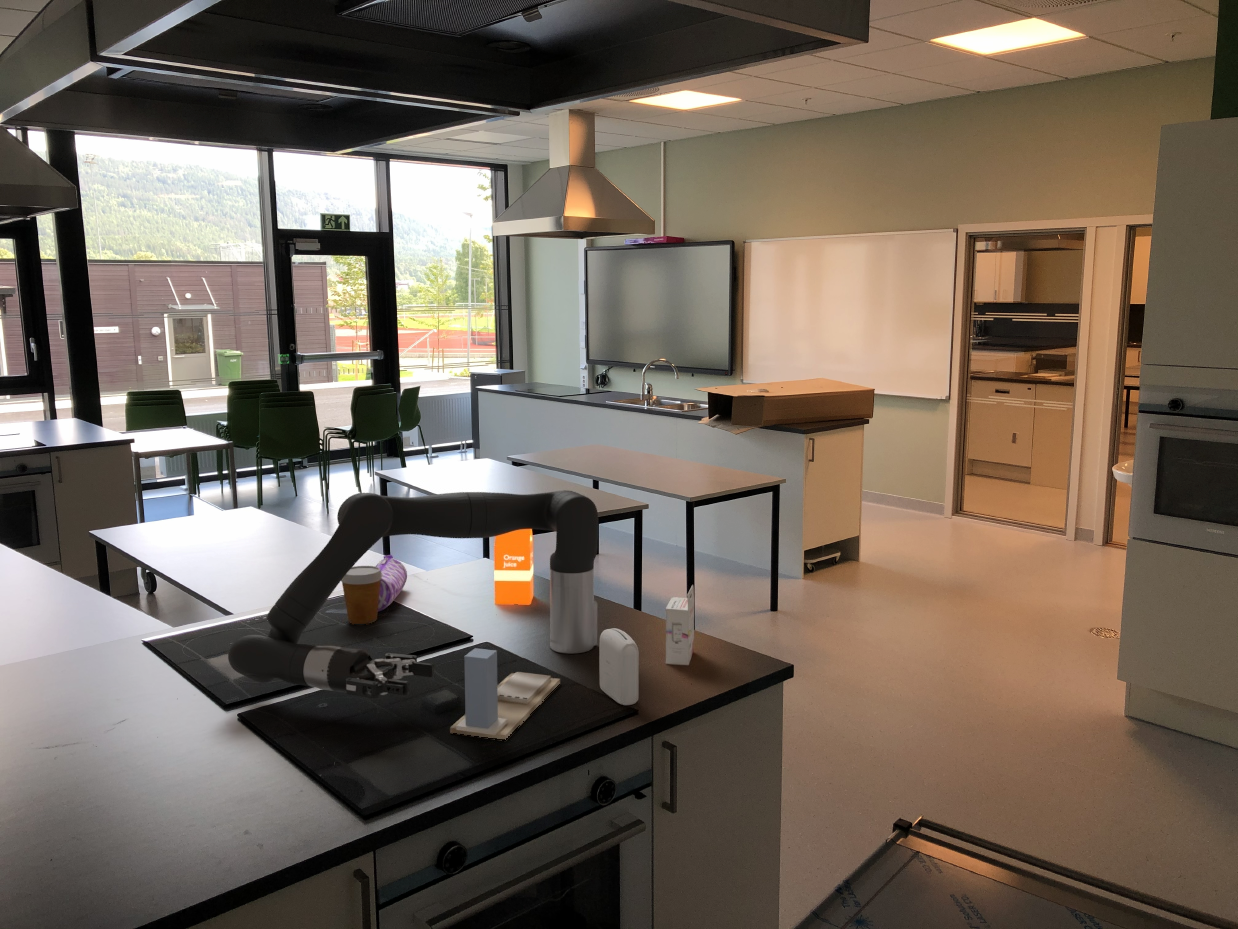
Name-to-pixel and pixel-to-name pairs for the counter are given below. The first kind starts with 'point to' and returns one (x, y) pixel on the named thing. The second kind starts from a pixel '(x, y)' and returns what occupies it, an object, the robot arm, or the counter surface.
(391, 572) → the pencil case
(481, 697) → the panel
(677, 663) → the ink cartridge box
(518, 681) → the perforated strip board
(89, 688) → the counter surface
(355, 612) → the disposable coffee cup
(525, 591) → the orange juice
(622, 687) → the photo printer
